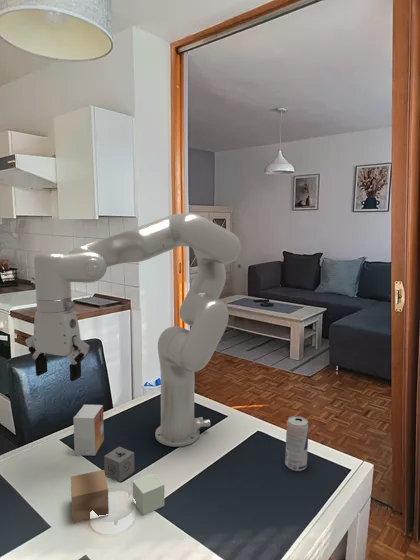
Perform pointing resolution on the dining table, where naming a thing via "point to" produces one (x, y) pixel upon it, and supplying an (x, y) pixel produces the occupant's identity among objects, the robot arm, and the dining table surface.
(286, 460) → the energy drink
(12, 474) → the dining table surface
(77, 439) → the small box
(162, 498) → the sage block
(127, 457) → the dice cube
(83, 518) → the walnut block
